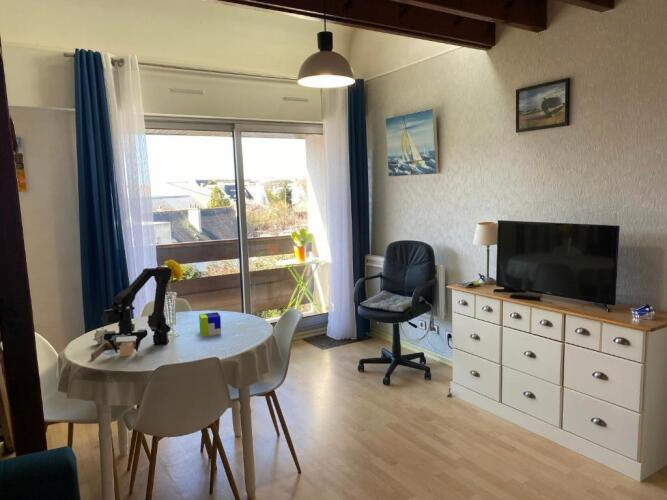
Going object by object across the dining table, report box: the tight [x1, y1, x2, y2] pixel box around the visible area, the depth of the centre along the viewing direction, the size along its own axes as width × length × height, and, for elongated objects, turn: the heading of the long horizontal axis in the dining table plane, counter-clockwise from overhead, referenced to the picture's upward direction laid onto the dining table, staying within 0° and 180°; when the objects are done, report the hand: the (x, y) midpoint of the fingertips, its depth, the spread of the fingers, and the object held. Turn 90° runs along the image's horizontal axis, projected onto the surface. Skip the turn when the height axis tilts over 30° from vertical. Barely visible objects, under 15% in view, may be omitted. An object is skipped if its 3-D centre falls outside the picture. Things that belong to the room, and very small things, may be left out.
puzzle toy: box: [198, 311, 222, 337], centre depth 272 cm, size 10×10×10 cm
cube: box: [119, 342, 135, 357], centre depth 238 cm, size 5×5×5 cm
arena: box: [90, 340, 141, 361], centre depth 240 cm, size 17×19×3 cm
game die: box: [92, 327, 108, 345], centre depth 255 cm, size 9×8×10 cm
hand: (126, 352), depth 238 cm, fingers open, 9 cm apart
